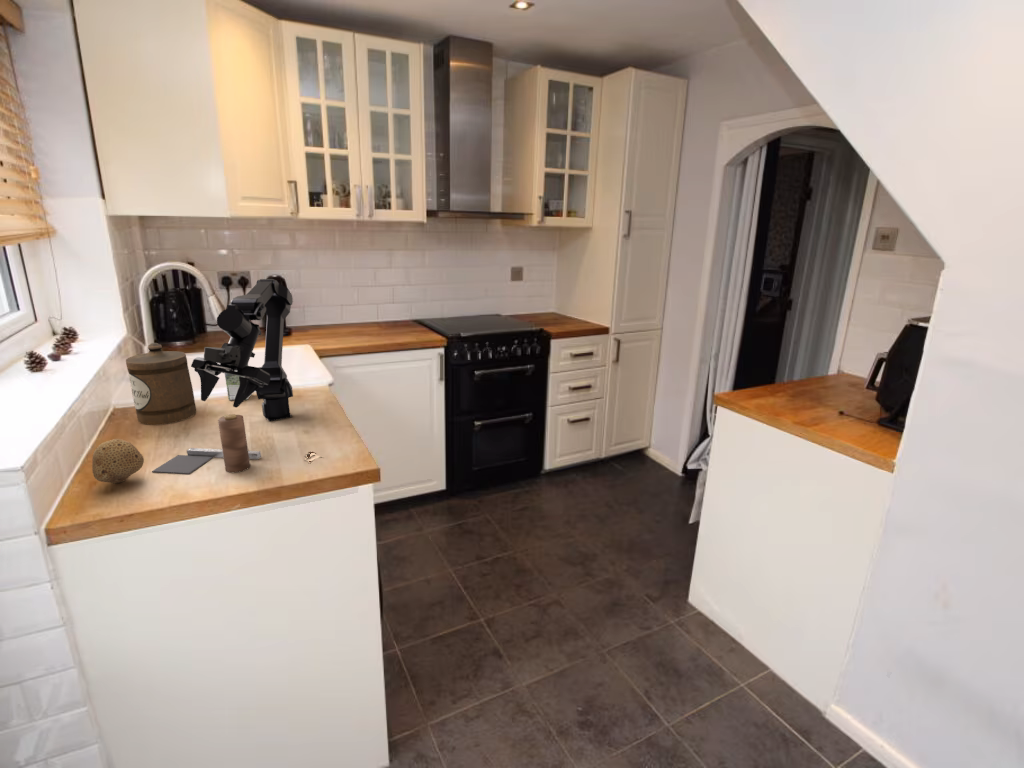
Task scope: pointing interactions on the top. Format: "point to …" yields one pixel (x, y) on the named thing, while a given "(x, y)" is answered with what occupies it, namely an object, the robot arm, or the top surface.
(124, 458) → the natural sponge
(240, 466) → the brown thread spool
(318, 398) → the top surface
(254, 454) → the steel straightedge
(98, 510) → the top surface
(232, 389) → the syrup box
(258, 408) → the top surface
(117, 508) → the top surface
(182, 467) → the grey square plate
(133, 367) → the wooden container
